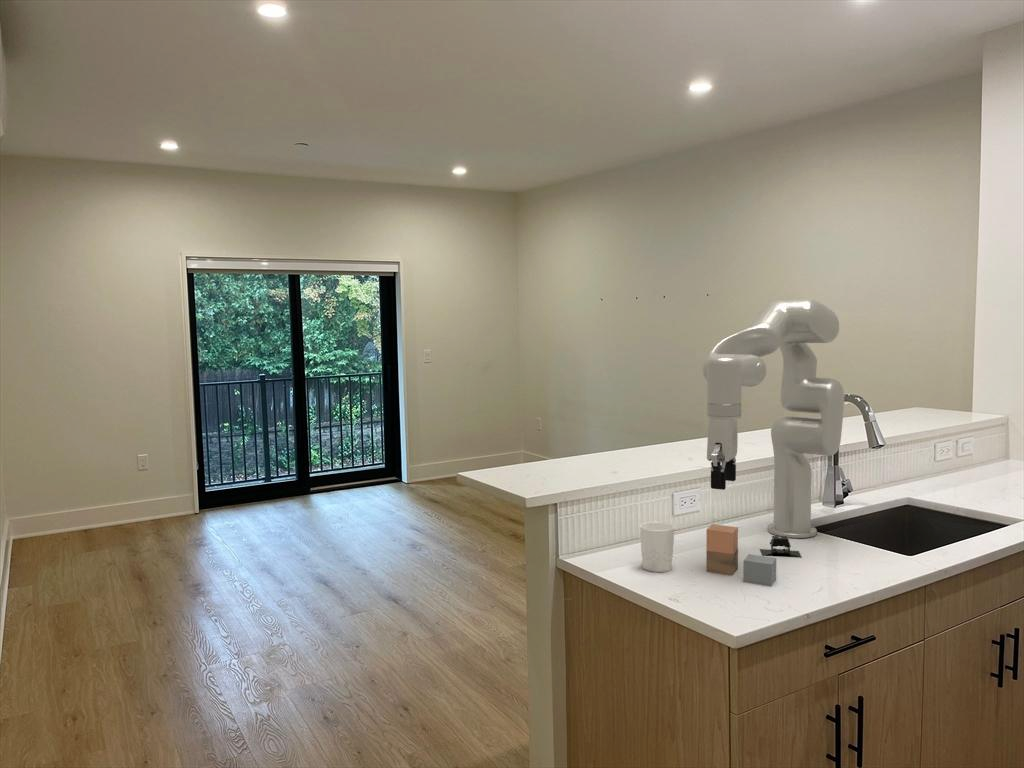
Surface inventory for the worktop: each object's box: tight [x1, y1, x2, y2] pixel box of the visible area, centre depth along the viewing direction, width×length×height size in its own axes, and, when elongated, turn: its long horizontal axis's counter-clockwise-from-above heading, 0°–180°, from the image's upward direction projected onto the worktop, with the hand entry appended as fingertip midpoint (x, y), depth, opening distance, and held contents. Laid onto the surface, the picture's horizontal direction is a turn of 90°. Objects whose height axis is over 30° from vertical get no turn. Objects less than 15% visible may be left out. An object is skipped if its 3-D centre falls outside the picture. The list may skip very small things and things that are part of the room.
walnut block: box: [705, 548, 739, 577], centre depth 171 cm, size 5×6×5 cm
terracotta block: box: [706, 523, 739, 554], centre depth 171 cm, size 5×6×5 cm
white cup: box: [639, 521, 675, 573], centre depth 174 cm, size 8×8×10 cm
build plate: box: [759, 535, 802, 559], centre depth 183 cm, size 12×7×5 cm, turn 78°
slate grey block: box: [742, 553, 777, 587], centre depth 164 cm, size 5×6×5 cm
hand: (723, 484), depth 170 cm, fingers open, 9 cm apart
